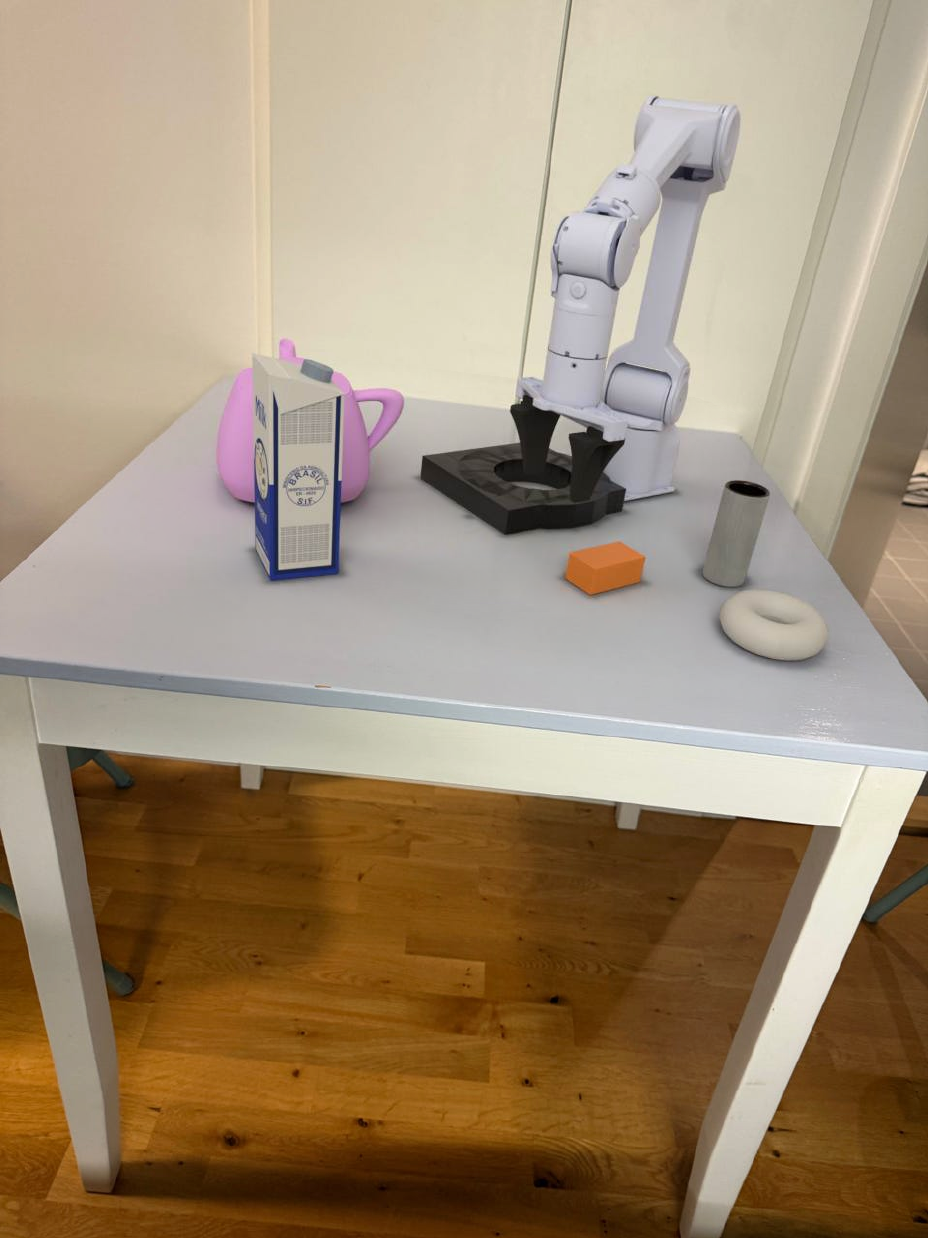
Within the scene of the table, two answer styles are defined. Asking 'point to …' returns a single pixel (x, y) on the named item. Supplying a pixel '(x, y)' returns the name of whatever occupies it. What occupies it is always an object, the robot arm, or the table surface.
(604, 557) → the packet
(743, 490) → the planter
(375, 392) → the teapot
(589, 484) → the robot arm
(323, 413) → the milk carton
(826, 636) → the donut
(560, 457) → the square plate with hole
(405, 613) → the table surface
